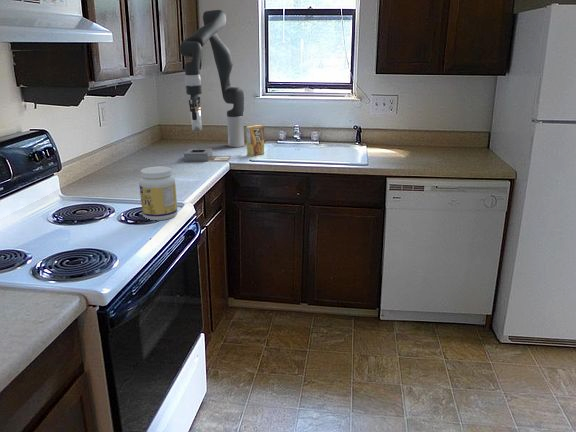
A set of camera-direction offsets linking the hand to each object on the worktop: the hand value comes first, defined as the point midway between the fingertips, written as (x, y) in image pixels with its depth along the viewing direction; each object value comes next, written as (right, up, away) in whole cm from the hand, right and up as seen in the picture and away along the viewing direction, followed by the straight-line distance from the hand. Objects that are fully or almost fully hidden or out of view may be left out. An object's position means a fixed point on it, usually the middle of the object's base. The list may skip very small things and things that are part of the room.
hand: (196, 119), depth 261 cm
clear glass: (0, -5, +2) cm, 5 cm away
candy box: (+29, -16, +19) cm, 38 cm away
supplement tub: (+1, -49, -76) cm, 90 cm away
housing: (0, -19, +7) cm, 20 cm away
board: (+5, -20, +7) cm, 22 cm away
